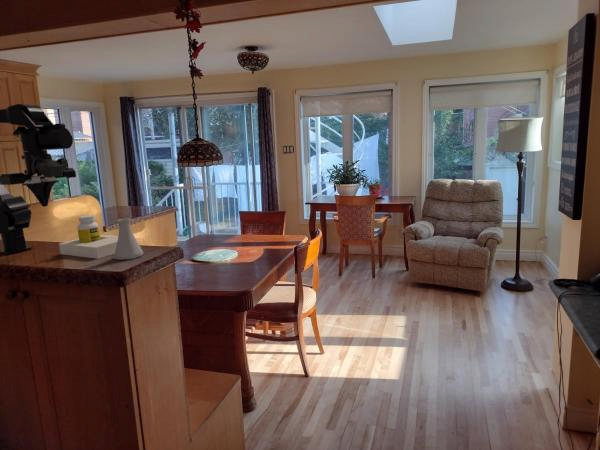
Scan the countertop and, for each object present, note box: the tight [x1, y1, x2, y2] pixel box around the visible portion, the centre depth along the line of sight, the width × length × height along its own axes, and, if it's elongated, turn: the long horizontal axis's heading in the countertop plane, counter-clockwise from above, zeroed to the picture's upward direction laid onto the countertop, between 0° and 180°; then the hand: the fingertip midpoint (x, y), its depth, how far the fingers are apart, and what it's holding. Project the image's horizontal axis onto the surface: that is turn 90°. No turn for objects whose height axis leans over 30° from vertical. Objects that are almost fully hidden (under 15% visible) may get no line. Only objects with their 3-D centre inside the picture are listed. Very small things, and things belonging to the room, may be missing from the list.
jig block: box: [58, 233, 119, 260], centre depth 124 cm, size 16×12×3 cm
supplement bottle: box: [77, 214, 100, 243], centre depth 125 cm, size 5×5×10 cm
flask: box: [113, 217, 144, 261], centre depth 114 cm, size 7×7×10 cm
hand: (45, 206), depth 126 cm, fingers closed
